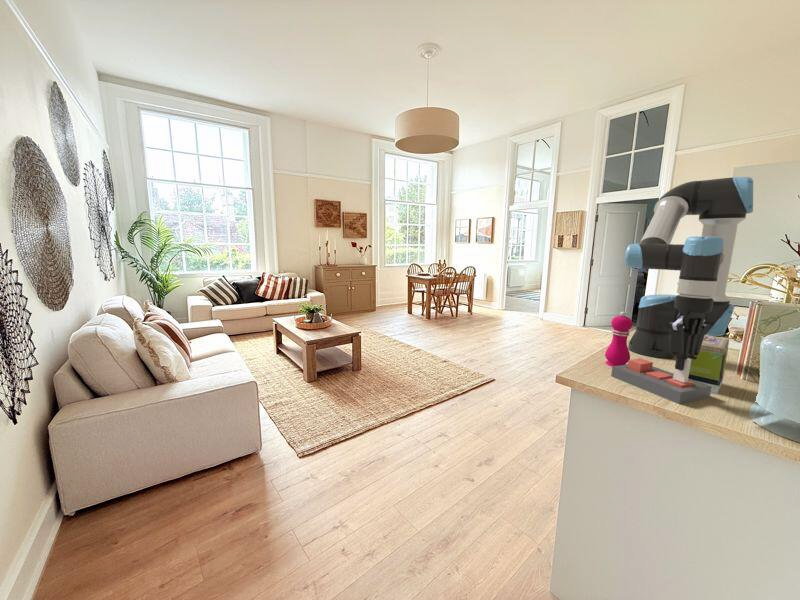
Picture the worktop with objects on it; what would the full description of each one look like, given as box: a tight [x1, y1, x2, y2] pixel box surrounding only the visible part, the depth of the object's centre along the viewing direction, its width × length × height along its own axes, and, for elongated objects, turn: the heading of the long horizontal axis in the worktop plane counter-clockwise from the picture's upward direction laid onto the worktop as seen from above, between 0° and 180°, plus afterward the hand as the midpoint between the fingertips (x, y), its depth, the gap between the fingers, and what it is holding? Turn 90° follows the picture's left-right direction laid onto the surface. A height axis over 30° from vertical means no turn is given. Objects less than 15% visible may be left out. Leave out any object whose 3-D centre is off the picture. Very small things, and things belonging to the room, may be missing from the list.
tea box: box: [688, 335, 730, 395], centre depth 99 cm, size 15×10×15 cm
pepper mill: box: [604, 311, 633, 368], centre depth 112 cm, size 7×7×20 cm
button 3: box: [666, 379, 694, 388], centre depth 91 cm, size 5×4×4 cm
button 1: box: [627, 357, 654, 373], centre depth 101 cm, size 5×4×4 cm
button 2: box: [646, 371, 672, 380], centre depth 96 cm, size 5×4×4 cm
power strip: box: [610, 363, 712, 405], centre depth 99 cm, size 13×26×4 cm, turn 19°
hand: (680, 380), depth 91 cm, fingers closed
